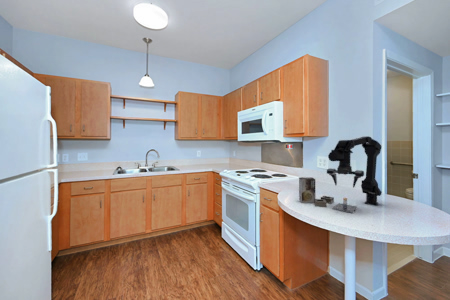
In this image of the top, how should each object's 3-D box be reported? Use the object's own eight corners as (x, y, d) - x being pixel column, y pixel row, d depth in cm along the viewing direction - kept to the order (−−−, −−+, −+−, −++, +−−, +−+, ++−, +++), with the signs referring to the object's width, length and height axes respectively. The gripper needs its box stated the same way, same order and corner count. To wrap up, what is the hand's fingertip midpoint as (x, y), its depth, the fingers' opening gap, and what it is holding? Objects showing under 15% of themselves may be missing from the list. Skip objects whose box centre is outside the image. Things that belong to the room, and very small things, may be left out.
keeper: (338, 204, 125) (339, 194, 124) (357, 207, 118) (357, 197, 117) (332, 209, 114) (332, 199, 114) (352, 213, 108) (352, 202, 107)
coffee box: (312, 200, 133) (312, 177, 132) (315, 203, 126) (315, 178, 126) (298, 200, 134) (298, 177, 133) (301, 202, 127) (301, 178, 127)
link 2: (323, 199, 134) (323, 195, 134) (333, 201, 129) (333, 197, 129) (320, 201, 129) (320, 197, 129) (331, 203, 125) (331, 199, 125)
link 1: (314, 203, 126) (314, 198, 126) (324, 204, 124) (324, 199, 124) (315, 206, 120) (315, 201, 120) (326, 207, 118) (326, 202, 118)
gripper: (324, 160, 116) (324, 186, 117) (361, 162, 104) (361, 191, 104) (329, 159, 125) (329, 183, 125) (364, 161, 112) (364, 187, 112)
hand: (344, 186), depth 116 cm, fingers open, 9 cm apart
